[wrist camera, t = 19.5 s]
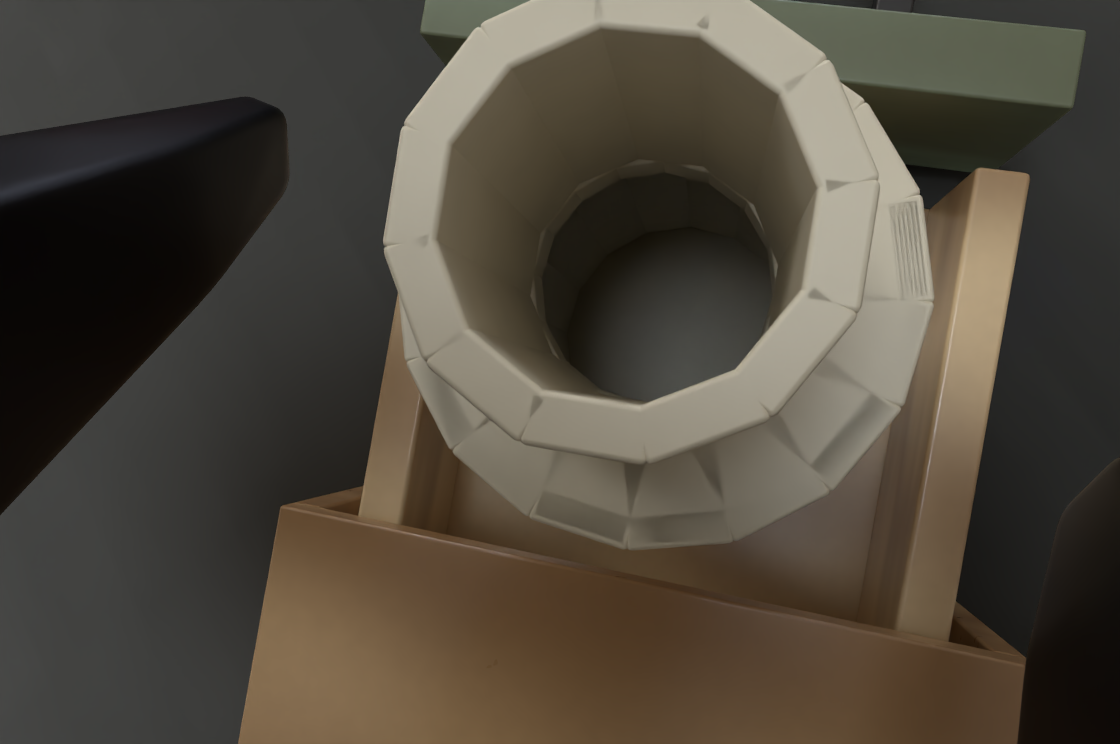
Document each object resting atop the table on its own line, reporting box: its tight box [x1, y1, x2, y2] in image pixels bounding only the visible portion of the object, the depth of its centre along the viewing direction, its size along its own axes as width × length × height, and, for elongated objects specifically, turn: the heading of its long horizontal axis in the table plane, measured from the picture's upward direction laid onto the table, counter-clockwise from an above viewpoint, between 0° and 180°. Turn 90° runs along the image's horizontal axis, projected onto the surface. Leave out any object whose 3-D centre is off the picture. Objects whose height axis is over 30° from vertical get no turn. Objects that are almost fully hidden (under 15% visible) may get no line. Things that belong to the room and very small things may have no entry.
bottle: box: [383, 0, 935, 550], centre depth 11 cm, size 5×5×12 cm
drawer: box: [358, 0, 1086, 642], centre depth 16 cm, size 17×10×4 cm, turn 169°
